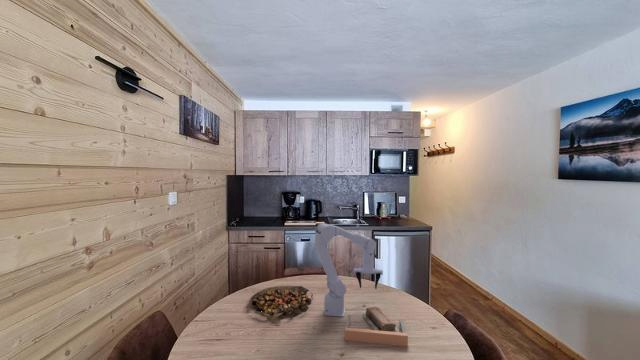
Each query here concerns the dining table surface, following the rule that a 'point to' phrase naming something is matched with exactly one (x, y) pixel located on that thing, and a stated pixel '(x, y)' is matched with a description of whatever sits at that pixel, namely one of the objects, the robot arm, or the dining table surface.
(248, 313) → the dining table surface
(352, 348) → the dining table surface
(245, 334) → the dining table surface
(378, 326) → the packaged product
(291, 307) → the food dish
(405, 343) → the channel
